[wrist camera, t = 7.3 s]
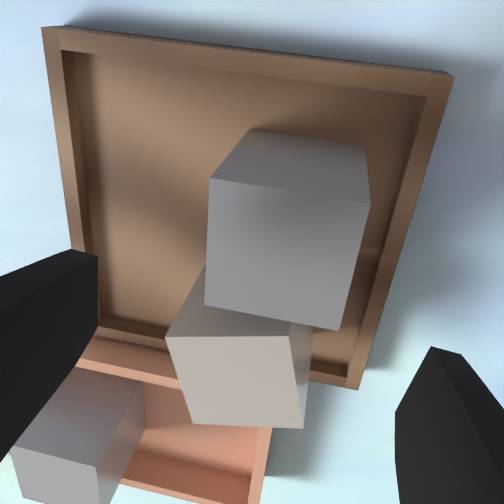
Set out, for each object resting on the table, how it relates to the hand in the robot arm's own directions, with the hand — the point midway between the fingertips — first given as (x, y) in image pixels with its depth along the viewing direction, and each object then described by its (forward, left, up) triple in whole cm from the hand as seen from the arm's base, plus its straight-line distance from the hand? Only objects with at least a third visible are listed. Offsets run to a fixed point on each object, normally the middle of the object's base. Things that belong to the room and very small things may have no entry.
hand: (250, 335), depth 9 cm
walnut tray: (+2, -2, -8) cm, 9 cm away
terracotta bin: (+13, -6, -8) cm, 17 cm away
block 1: (+13, -8, -8) cm, 17 cm away
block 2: (0, 0, -8) cm, 8 cm away
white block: (+5, -1, -8) cm, 9 cm away
